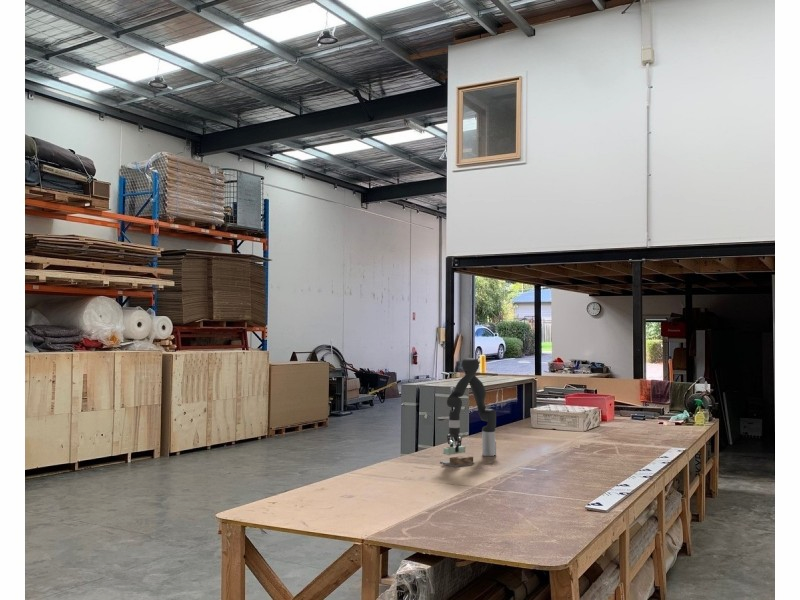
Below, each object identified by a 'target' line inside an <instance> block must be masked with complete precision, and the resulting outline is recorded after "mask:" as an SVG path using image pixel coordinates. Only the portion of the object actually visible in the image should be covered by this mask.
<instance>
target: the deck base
mask: <svg viewBox="0 0 800 600" xmlns="http://www.w3.org/2000/svg"><path fill="white" fill-rule="evenodd" d="M442 463H443V464H442ZM439 464H442V465H445V464H446V465H445V466H448V465H449V467H452V468H454V467H455V466H456V467H463V466H469V465H475V462H474V461H473V463H467V464H459V465H452V464H450V459H449V460H440V461H439ZM456 467H455V468H456Z"/></svg>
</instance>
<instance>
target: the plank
mask: <svg viewBox="0 0 800 600" xmlns="http://www.w3.org/2000/svg"><path fill="white" fill-rule="evenodd" d="M455 447H456V446H454V445H453V447H450V446H448V447H443V449H442V450H443V452H442V453H443V455H446V456H447V455H448V456H451V455H457V454H463V453H466V446H464V445H461V446H459V452H455Z"/></svg>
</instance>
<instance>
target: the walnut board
mask: <svg viewBox="0 0 800 600" xmlns="http://www.w3.org/2000/svg"><path fill="white" fill-rule="evenodd" d="M449 460H450V464H452V465H459V464H467V463H473V462H474V456H473V455H469V454H468V455H463V456H455V457H449Z"/></svg>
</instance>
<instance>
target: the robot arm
mask: <svg viewBox="0 0 800 600" xmlns="http://www.w3.org/2000/svg"><path fill="white" fill-rule="evenodd" d="M461 367H462V370H463V373H464V376H462V377H461V378H460V379H459V381H458V382H457V383H456V385H455V387H454V390H453V391H451V393H450V394H449V396H448V397H447V399H446V405H447V406H448V407H449V408H454V409H453V410H451V411H449V415H448V417H449V419H448V433H449V434H448V435H446V436H447V437H446V438H447V444H448V445H449V447H453V446H454V445H455V446H456V447H455V452H459V446H462V441H463V439H462V438H463V437H461V436H459V435H460V433H461V421H460V415H461V410H462V406H463V400H462V399H461V397H463V396H464V394H465V392H466V389H467V387H468V385H469V387H470V388H471V392H472V394H473V397H474V400H475V404H476V407H477V411H478V415H479V418H480V420H481V421H483V422H486V425H484V426H482V428H481V436H482V438H481V442H482V444H481V445H482V447H481V449H482V451H481V455H482V456H483V457H484V456H485V457H494V455H495V456H496V455H497V442H496V428H497V412H496V410H495V409H493V408H487V407H486V404H485V400H486V396H487V391H486V388H485V385H484V384H483V382H482V381H481V380H480V379H479V377H477V376H476V373H477V372H478V370H479V367H480V362H479V360H478V359H477V358H472V357H471V358H467V357H466V358H464V359H463V360H462V361H461Z"/></svg>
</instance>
